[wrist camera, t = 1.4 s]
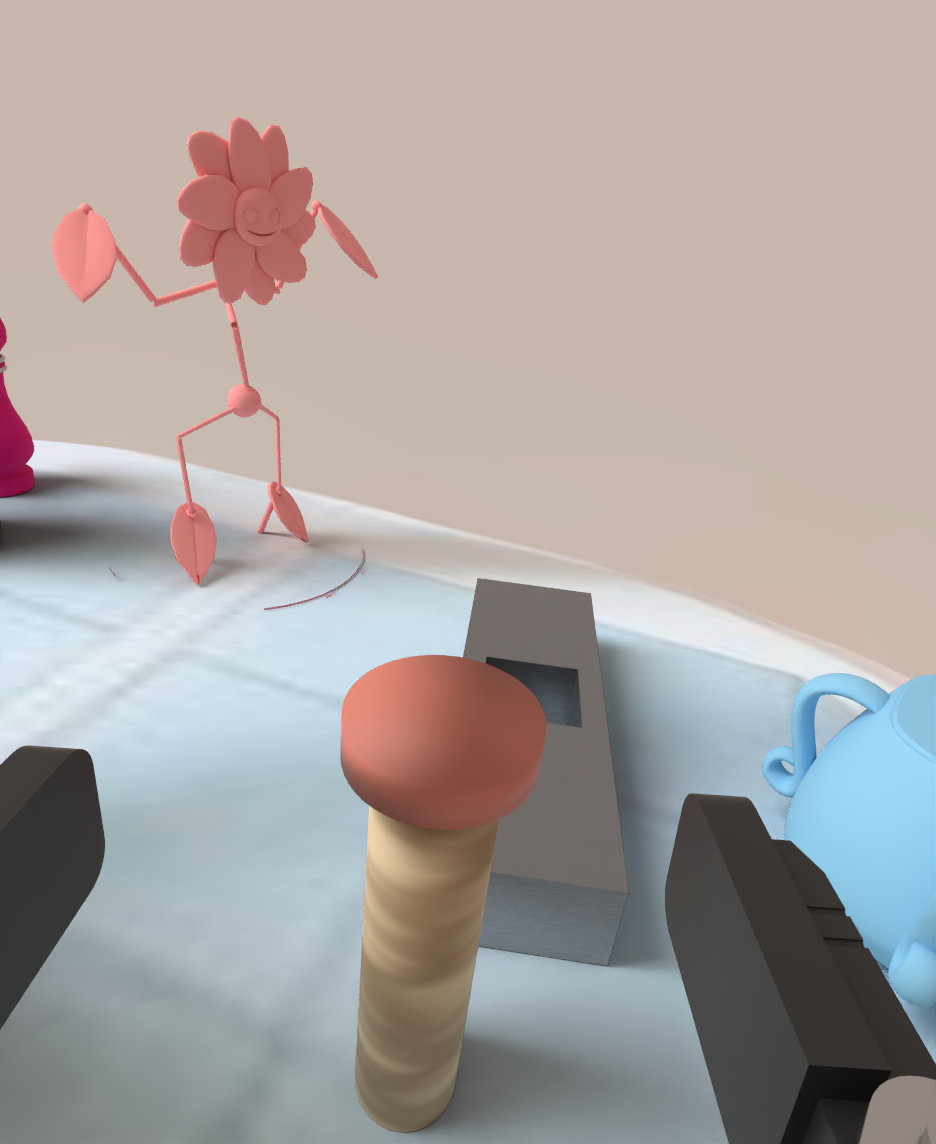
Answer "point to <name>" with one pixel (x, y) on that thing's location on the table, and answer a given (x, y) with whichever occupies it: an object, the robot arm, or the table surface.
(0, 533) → the coffee jar
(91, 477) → the table surface
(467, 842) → the oak pin
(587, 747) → the bar
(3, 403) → the pepper mill
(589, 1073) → the table surface
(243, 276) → the figurine
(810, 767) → the decorative pot
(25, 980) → the robot arm
